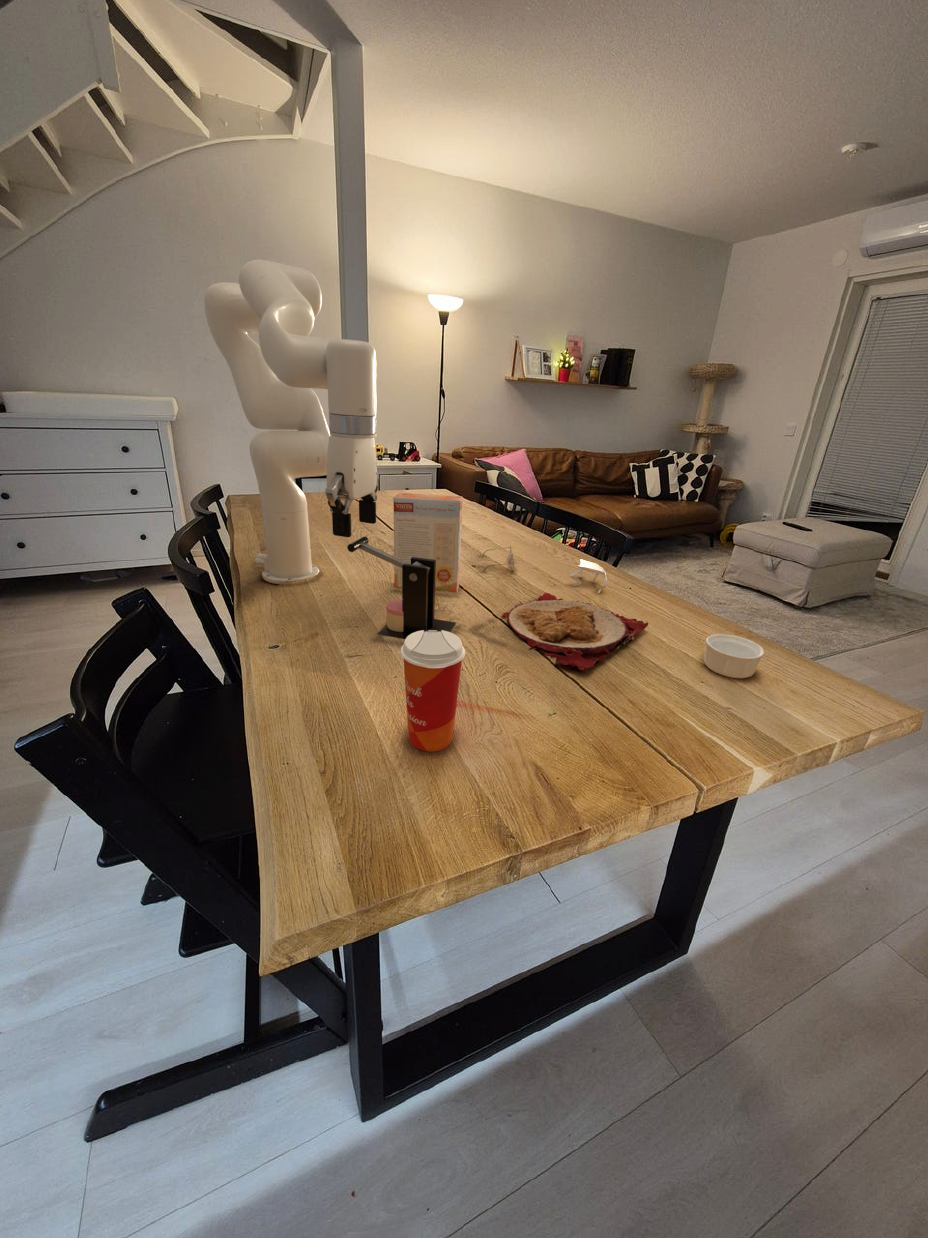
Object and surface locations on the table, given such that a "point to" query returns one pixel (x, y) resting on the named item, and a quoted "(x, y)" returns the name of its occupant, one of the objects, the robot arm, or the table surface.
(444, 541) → the cracker box
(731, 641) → the ramekin
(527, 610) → the plate with food
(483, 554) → the eyeglasses
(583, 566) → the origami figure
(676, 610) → the table surface
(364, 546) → the lever
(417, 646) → the paper cup
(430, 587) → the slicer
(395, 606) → the cake
